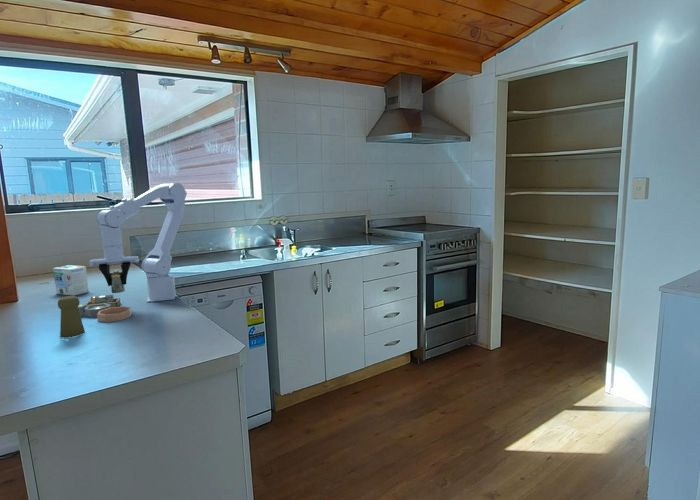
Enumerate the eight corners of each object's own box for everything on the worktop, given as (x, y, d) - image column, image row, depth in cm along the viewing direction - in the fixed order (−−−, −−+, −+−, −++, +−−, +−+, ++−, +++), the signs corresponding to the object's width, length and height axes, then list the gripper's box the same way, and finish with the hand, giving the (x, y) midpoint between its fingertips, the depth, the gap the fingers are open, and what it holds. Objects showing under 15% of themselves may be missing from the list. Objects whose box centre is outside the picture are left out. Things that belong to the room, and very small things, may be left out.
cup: (132, 311, 143) (132, 305, 143) (129, 319, 135) (128, 312, 135) (101, 315, 140) (101, 308, 140) (96, 323, 132) (95, 316, 131)
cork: (58, 339, 118) (53, 300, 117) (61, 332, 124) (56, 296, 122) (84, 335, 121) (79, 297, 120) (85, 329, 126) (81, 293, 125)
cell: (125, 289, 149) (123, 269, 148) (124, 292, 145) (121, 271, 144) (112, 290, 147) (110, 270, 146) (110, 293, 143) (108, 272, 142)
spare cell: (114, 305, 153) (114, 294, 153) (112, 306, 149) (111, 294, 149) (92, 307, 151) (91, 296, 151) (89, 308, 147) (88, 297, 147)
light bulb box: (55, 294, 172) (52, 267, 170) (71, 290, 178) (68, 264, 176) (73, 296, 168) (70, 269, 166) (89, 291, 174) (86, 265, 172)
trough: (120, 303, 154) (119, 298, 154) (117, 307, 149) (117, 301, 149) (88, 306, 151) (88, 301, 151) (85, 311, 146) (84, 305, 145)
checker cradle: (112, 309, 147) (111, 299, 146) (108, 315, 140) (107, 305, 139) (81, 312, 143) (80, 303, 143) (76, 319, 137) (75, 308, 136)
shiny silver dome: (107, 307, 145) (107, 305, 145) (105, 311, 140) (104, 308, 140) (91, 309, 143) (90, 306, 143) (87, 313, 139) (87, 310, 139)
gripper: (85, 248, 137) (90, 289, 139) (135, 245, 142) (139, 284, 144) (90, 246, 144) (95, 285, 146) (137, 242, 149) (141, 280, 151)
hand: (117, 284), depth 146 cm, fingers closed on cell, 4 cm apart
